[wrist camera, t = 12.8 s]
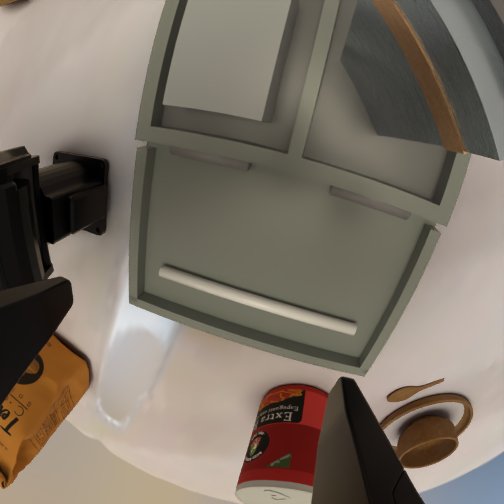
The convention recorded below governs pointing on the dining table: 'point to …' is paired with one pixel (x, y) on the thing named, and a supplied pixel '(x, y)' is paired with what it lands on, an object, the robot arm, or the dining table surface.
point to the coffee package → (39, 406)
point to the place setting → (427, 428)
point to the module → (431, 71)
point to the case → (277, 186)
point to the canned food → (283, 447)
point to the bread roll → (6, 2)
